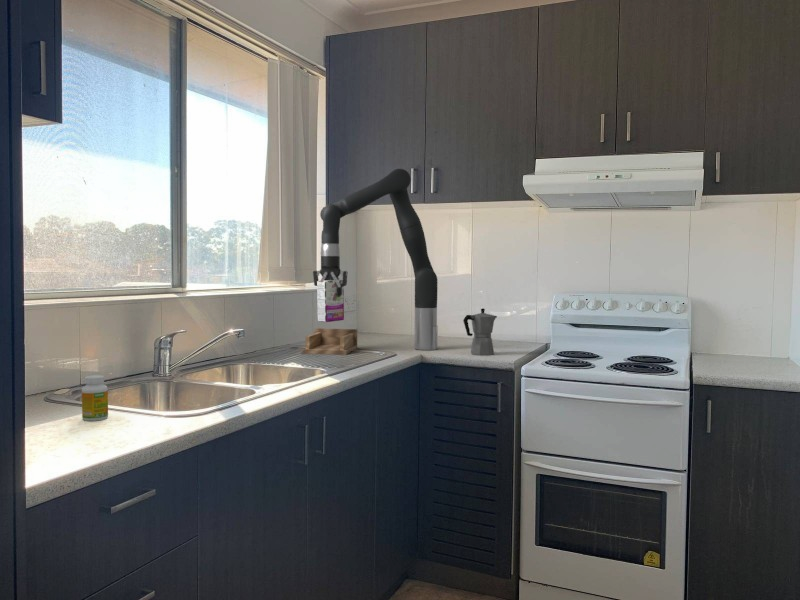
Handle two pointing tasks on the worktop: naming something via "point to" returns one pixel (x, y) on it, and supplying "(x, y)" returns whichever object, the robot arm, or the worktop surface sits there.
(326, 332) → the walnut rack
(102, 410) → the supplement bottle
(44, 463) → the worktop surface
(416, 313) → the robot arm
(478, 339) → the coffeepot
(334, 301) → the candy bar box
